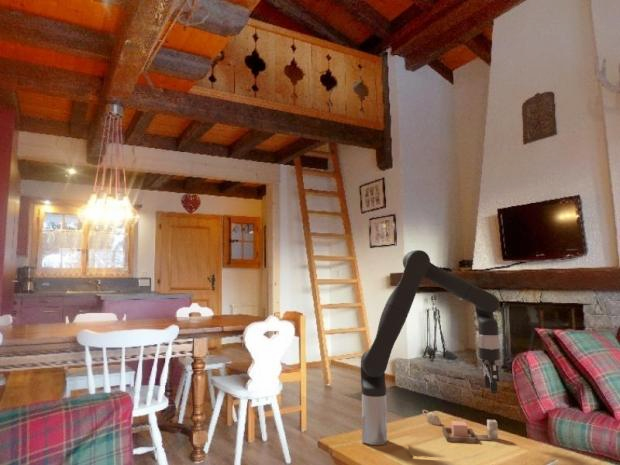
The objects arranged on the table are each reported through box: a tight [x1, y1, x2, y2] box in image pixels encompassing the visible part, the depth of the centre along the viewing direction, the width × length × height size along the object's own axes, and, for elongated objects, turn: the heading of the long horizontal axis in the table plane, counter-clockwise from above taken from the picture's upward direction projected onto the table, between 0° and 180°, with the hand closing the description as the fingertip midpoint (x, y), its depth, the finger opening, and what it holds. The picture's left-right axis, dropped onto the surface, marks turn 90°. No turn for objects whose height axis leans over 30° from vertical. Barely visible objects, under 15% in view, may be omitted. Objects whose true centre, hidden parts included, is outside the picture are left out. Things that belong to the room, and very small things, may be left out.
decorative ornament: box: [422, 409, 442, 426], centre depth 182 cm, size 4×8×5 cm, turn 30°
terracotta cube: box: [450, 420, 468, 437], centre depth 165 cm, size 5×5×5 cm
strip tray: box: [441, 419, 500, 444], centre depth 164 cm, size 19×11×7 cm, turn 82°
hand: (490, 390), depth 165 cm, fingers open, 8 cm apart
